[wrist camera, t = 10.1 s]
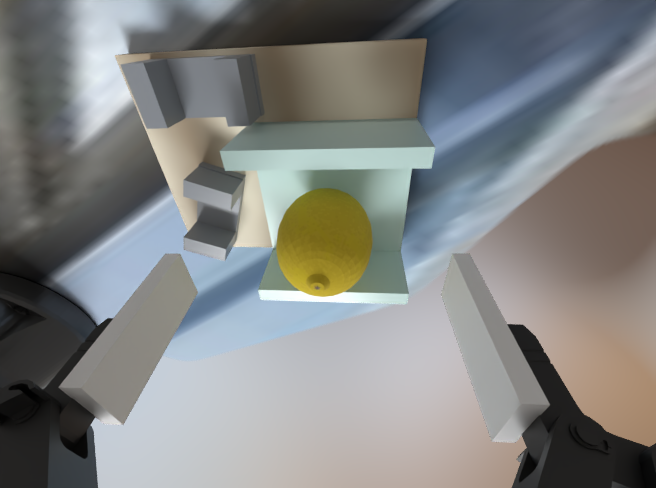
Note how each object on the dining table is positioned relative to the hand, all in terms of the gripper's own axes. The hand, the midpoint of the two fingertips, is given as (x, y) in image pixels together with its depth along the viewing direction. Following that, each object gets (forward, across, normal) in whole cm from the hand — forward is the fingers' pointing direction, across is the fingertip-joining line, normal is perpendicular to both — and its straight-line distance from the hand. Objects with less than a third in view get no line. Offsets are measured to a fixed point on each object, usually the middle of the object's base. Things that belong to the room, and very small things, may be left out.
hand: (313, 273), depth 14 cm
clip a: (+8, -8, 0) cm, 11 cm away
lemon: (+7, 0, 0) cm, 7 cm away
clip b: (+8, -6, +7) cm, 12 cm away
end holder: (+8, +1, 0) cm, 8 cm away
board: (+9, -3, +2) cm, 10 cm away
